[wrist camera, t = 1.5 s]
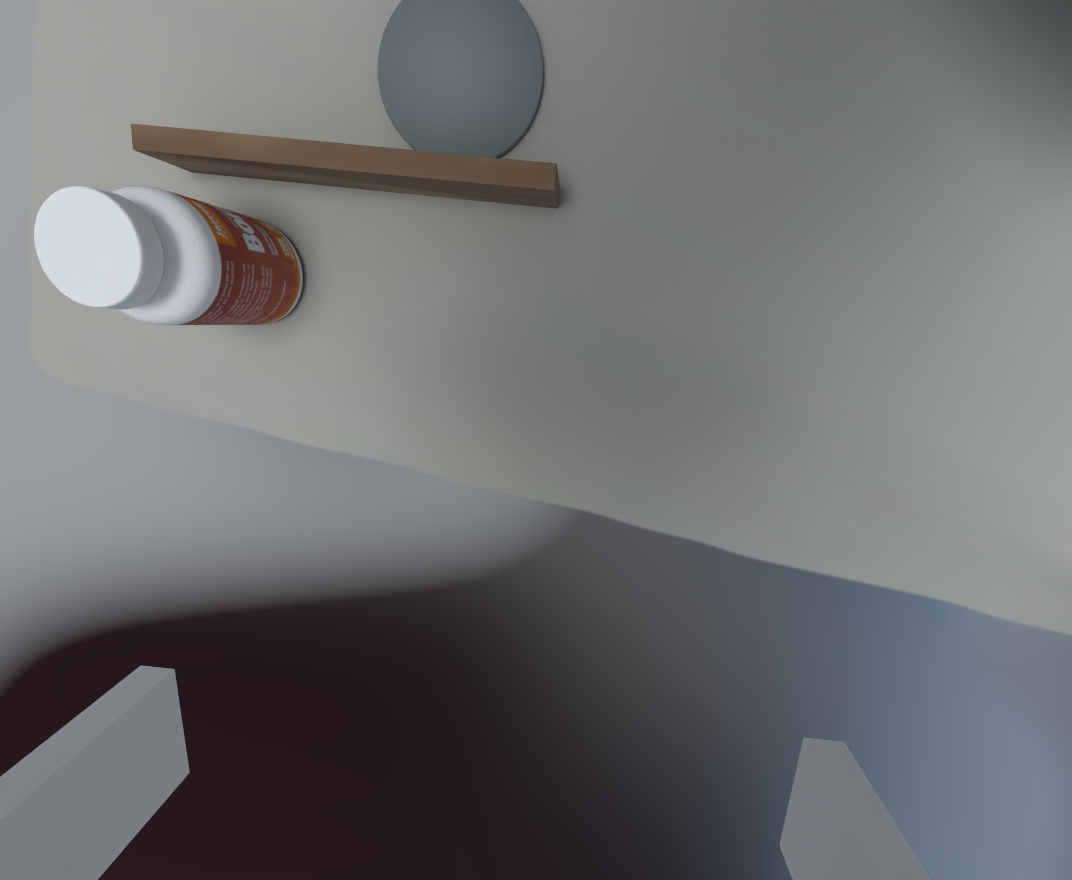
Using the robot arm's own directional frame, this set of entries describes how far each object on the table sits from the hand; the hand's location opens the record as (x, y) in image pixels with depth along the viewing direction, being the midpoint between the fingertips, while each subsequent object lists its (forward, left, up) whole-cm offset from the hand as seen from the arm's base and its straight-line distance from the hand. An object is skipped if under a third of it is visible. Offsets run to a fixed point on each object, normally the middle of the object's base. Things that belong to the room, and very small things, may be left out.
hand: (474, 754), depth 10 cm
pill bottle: (-10, -19, -22) cm, 31 cm away
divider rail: (-16, -12, -22) cm, 30 cm away
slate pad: (-21, -7, -22) cm, 32 cm away
